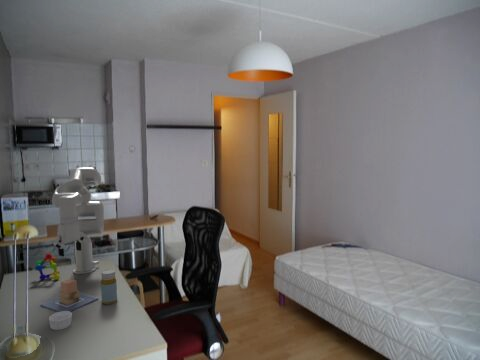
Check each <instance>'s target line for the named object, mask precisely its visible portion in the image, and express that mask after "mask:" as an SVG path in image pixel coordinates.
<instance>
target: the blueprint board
mask: <svg viewBox="0 0 480 360" xmlns="http://www.w3.org/2000/svg"><path fill="white" fill-rule="evenodd" d="M98 300H99V298H98V297H95V296H91V295H88V294H84V293H81V292H79V301H77V302H74V303H72V304H69V305H66V304H63V303H61V302H60V296H59V297H56V298H52V300H49V301H46V302H43V303H41V304H40V307H43V308H46V309H48V310H52V311H54V312H55V313H57V312H61V311H69V312H71V313H72V312H73V311H75V310H77V309H79V308H83V307H84V306H88V305H89V304H91V303H93V302H96V301H98Z"/></svg>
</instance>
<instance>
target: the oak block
mask: <svg viewBox="0 0 480 360" xmlns="http://www.w3.org/2000/svg"><path fill="white" fill-rule="evenodd" d="M79 293H80V291H79V290H78V289H77V291H75V292H72V293H69V294H65V293H62V292H61V291H60V292H59V297H60V302H61V303H63V304H66V305H69V304H72V303H74V302H77V301H79Z"/></svg>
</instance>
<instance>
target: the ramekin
mask: <svg viewBox="0 0 480 360" xmlns="http://www.w3.org/2000/svg"><path fill="white" fill-rule="evenodd" d="M72 317H73V313H72V311H71V312H69V311H61V312H54V313H53V314H51V315H49V317H48V321H49V327H50V329H51V330H54V331H59V330H60V331H61V330H64V329H66V328H69V327H70V326H71V325H72V320H73V319H72Z"/></svg>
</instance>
